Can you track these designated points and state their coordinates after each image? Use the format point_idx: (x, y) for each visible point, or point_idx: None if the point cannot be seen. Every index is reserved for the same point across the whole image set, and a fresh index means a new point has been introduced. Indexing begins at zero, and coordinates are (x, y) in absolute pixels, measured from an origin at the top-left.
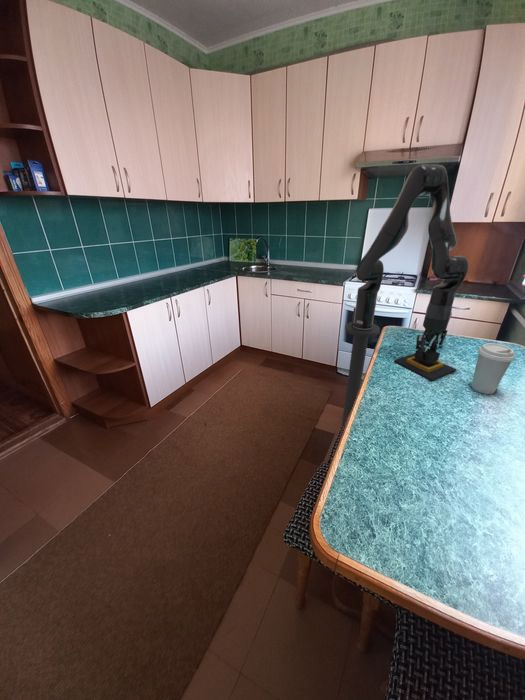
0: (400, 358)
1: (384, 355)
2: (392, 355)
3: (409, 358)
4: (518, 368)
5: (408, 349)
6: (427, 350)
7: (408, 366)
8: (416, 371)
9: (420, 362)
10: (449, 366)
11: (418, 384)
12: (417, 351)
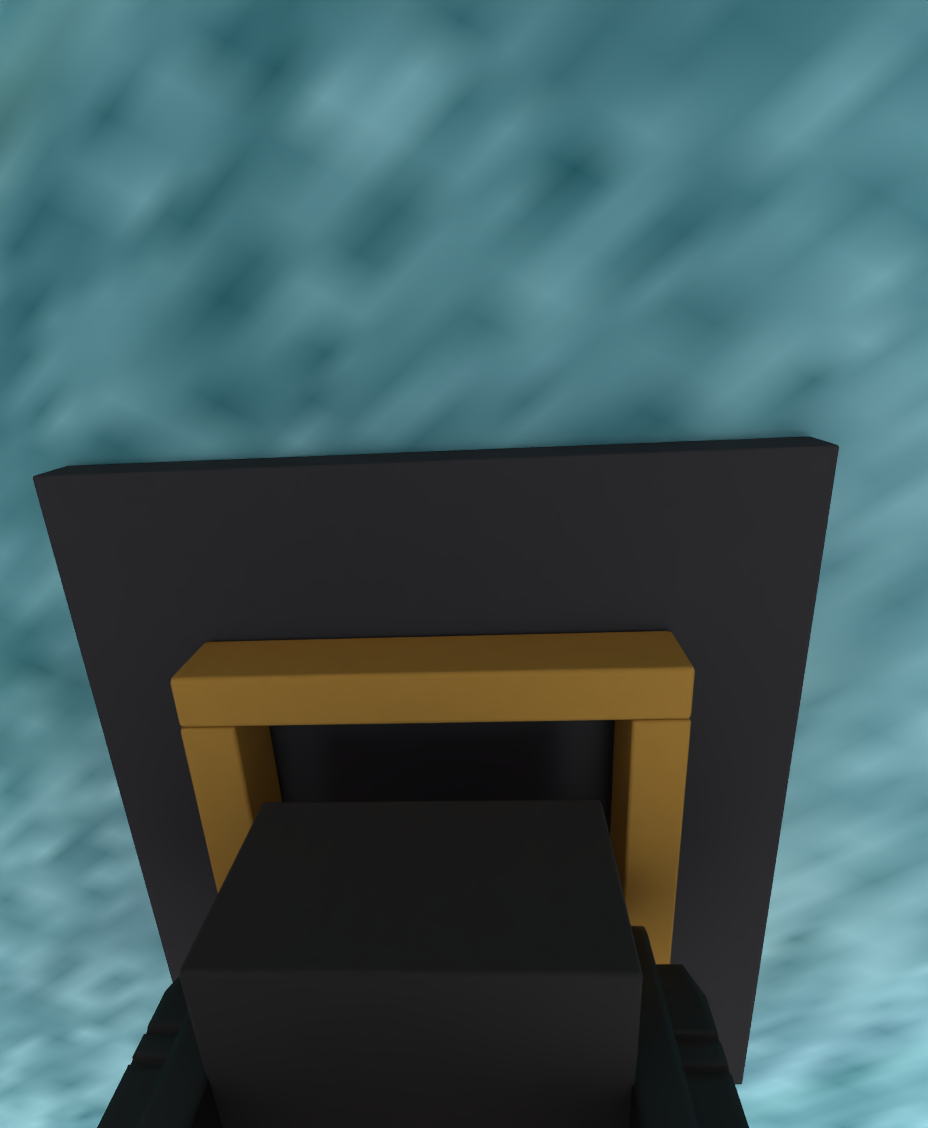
0: (208, 484)
1: (63, 92)
2: (252, 195)
3: (233, 697)
4: None
5: (900, 120)
6: (476, 1108)
7: (133, 761)
8: (150, 897)
9: (450, 762)
10: (739, 1018)
11: (16, 1009)
12: (192, 1002)
